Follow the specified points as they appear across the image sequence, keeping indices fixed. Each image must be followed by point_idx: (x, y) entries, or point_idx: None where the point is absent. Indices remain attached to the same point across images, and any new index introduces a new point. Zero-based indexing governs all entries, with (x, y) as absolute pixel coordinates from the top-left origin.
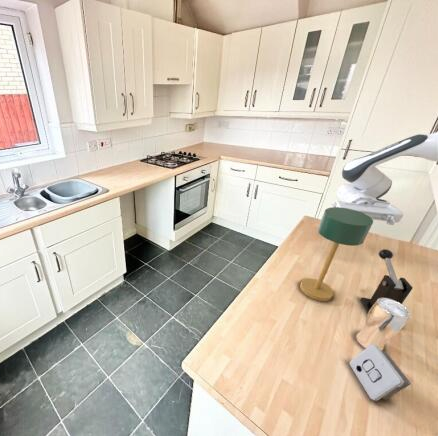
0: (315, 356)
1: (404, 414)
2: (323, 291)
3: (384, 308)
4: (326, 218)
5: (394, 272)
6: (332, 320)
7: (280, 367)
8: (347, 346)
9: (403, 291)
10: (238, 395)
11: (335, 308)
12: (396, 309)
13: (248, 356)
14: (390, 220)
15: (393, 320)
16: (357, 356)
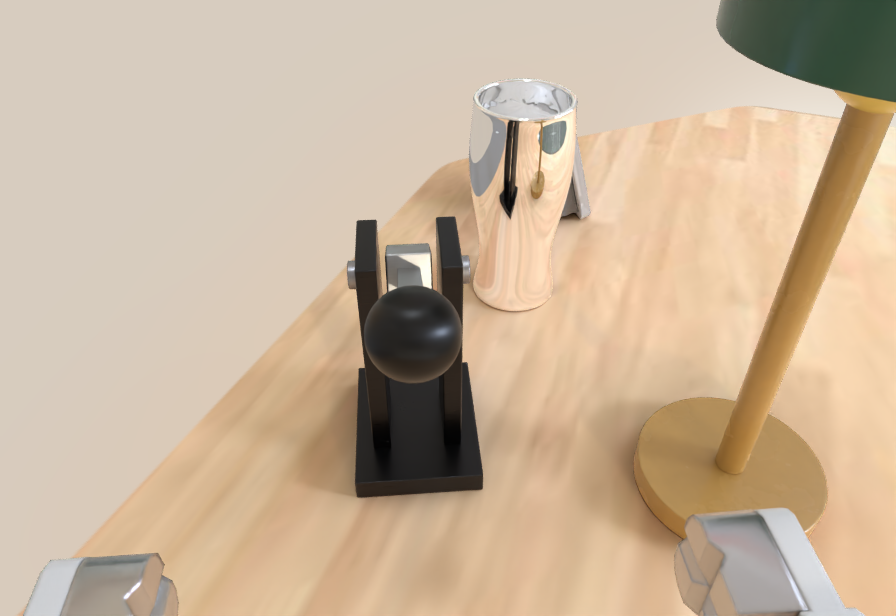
0: (678, 214)
1: None
2: (690, 445)
3: (515, 176)
4: None
5: (399, 280)
6: (631, 331)
7: (757, 176)
8: (585, 259)
9: (379, 266)
10: (814, 124)
11: (617, 393)
12: (487, 148)
13: None
14: (139, 562)
15: (526, 102)
16: (585, 183)
